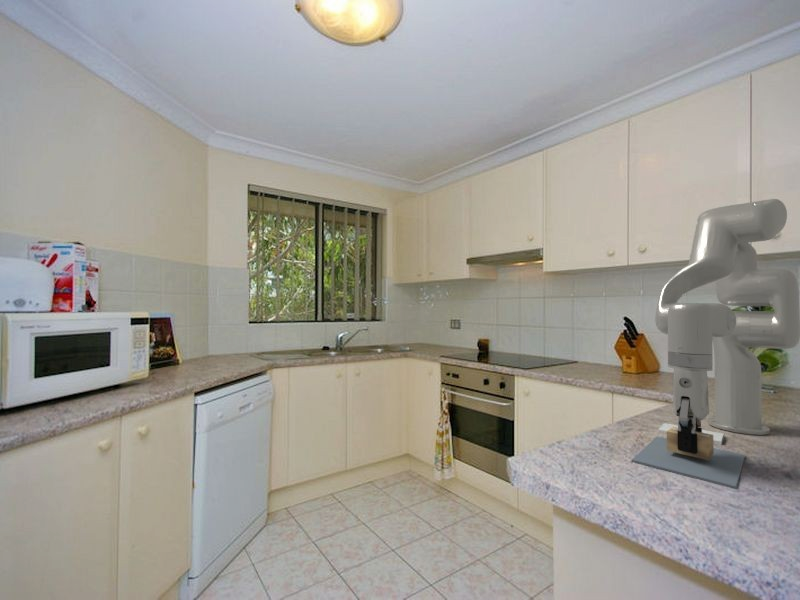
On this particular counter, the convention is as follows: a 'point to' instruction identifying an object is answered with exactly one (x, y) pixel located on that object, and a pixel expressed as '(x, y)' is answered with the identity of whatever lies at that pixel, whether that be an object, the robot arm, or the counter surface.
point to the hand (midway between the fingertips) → (689, 447)
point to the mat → (693, 463)
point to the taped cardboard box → (703, 444)
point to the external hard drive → (717, 436)
